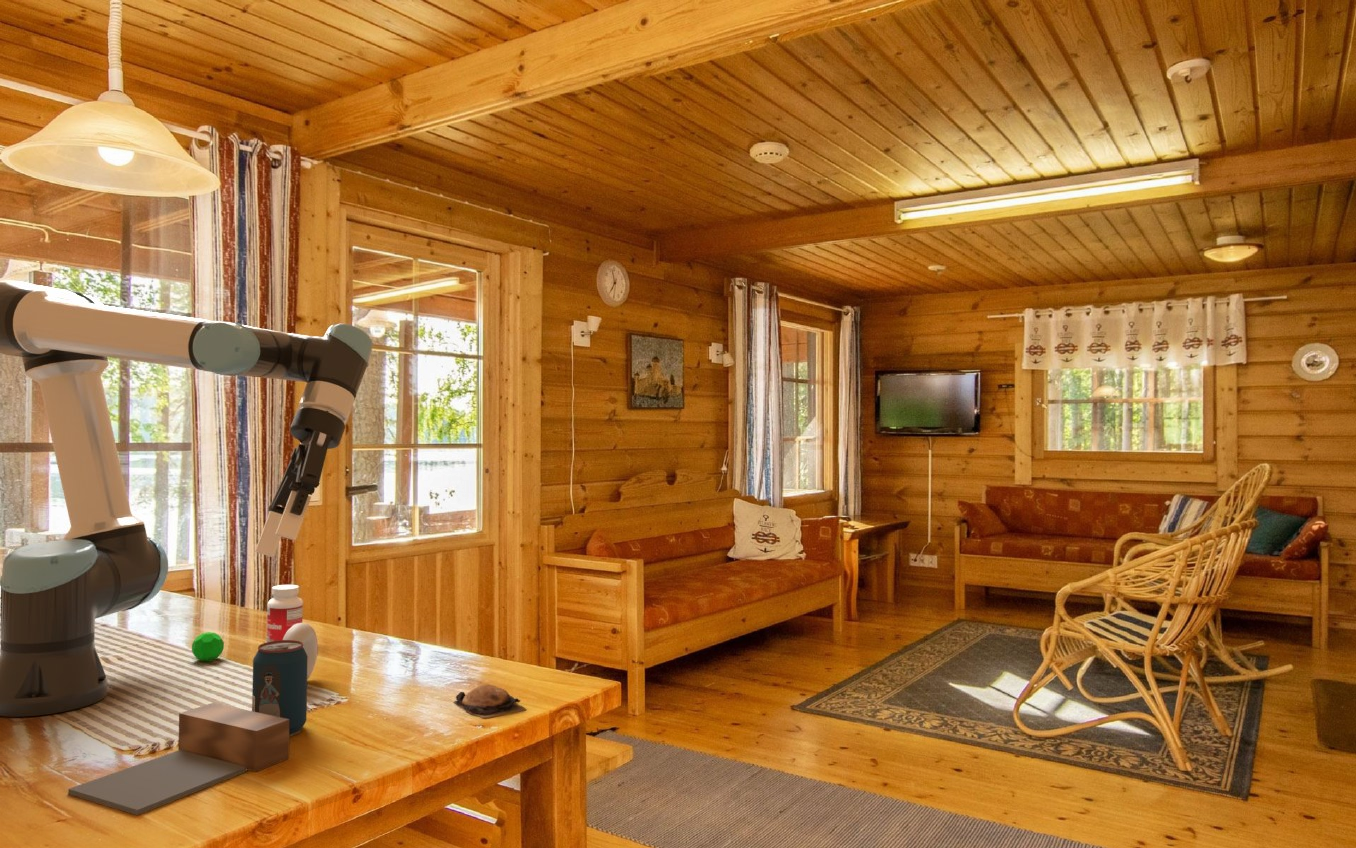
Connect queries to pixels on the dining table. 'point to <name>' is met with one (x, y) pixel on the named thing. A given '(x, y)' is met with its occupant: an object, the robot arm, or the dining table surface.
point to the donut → (305, 642)
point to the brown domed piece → (488, 702)
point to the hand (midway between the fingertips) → (274, 546)
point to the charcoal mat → (157, 781)
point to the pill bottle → (283, 611)
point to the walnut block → (234, 735)
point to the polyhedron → (207, 646)
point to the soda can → (281, 682)
